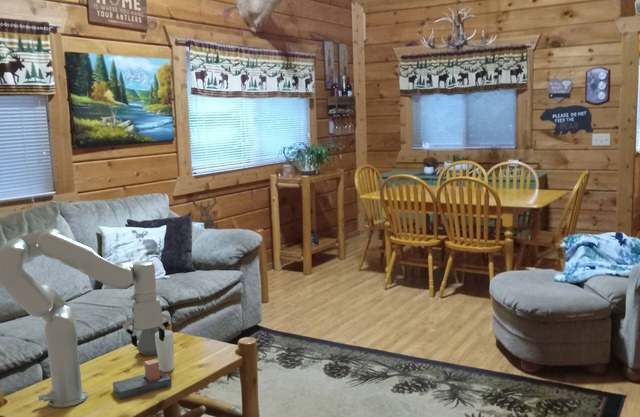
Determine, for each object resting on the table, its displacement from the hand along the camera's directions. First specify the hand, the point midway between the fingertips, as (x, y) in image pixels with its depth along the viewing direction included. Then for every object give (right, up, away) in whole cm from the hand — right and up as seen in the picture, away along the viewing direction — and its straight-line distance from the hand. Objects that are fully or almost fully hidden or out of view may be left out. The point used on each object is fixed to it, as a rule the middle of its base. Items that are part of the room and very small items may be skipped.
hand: (148, 342), depth 225 cm
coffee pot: (-5, -12, +34) cm, 36 cm away
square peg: (+1, -16, +2) cm, 16 cm away
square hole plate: (-2, -16, 0) cm, 17 cm away
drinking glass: (+3, -14, +16) cm, 22 cm away
